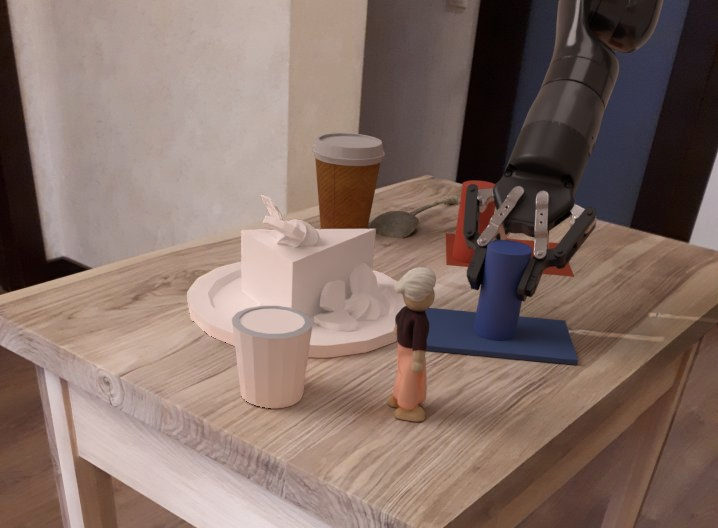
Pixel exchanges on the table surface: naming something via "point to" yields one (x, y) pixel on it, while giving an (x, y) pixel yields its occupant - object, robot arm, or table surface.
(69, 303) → the table surface
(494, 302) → the blue cylinder
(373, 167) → the disposable coffee cup
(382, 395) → the table surface
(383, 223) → the soupspoon
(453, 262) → the red mat
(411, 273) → the grandmother figurine
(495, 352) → the blue mat
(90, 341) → the table surface
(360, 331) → the dish
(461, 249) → the red cylinder
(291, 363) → the white tapered cup
